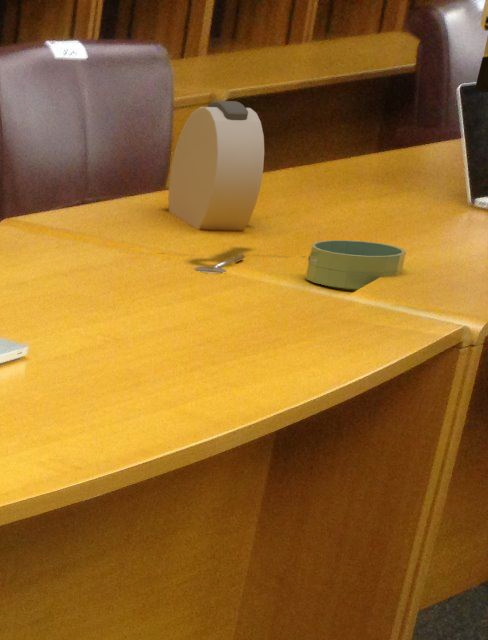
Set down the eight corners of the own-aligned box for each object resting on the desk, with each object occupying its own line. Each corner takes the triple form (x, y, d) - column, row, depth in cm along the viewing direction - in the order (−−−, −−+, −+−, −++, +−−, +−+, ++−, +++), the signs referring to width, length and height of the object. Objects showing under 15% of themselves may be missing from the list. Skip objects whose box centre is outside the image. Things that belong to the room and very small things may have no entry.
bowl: (409, 283, 217) (417, 247, 215) (379, 297, 209) (388, 260, 207) (322, 271, 224) (329, 236, 222) (291, 284, 216) (298, 248, 214)
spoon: (226, 258, 233) (228, 251, 233) (256, 261, 231) (257, 255, 230) (188, 275, 222) (190, 268, 222) (219, 279, 220) (220, 272, 219)
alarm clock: (249, 240, 247) (277, 111, 238) (203, 239, 247) (229, 110, 238) (204, 214, 266) (229, 93, 256) (161, 213, 266) (184, 92, 256)
